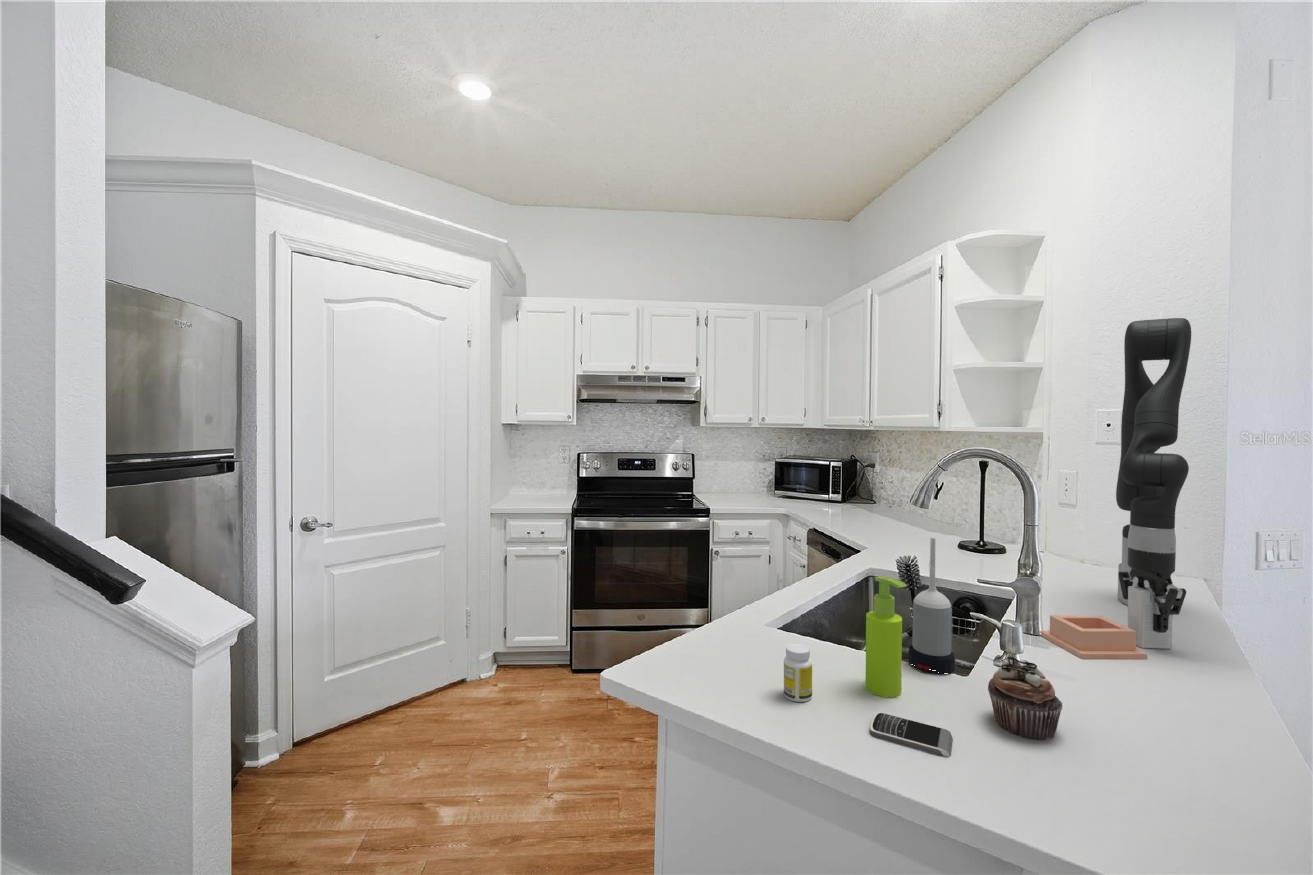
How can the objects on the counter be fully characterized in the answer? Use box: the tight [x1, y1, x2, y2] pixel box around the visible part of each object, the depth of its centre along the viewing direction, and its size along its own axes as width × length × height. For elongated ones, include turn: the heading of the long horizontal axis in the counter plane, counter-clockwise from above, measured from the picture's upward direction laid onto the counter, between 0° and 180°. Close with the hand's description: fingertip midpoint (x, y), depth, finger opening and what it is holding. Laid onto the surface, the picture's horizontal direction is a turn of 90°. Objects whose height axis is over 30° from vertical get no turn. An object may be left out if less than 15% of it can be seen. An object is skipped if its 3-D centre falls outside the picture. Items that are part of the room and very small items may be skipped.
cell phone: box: [869, 712, 954, 757], centre depth 83 cm, size 6×11×1 cm, turn 58°
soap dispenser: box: [864, 575, 908, 698], centre depth 96 cm, size 6×7×20 cm
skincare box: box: [1127, 586, 1174, 650], centre depth 116 cm, size 6×4×12 cm
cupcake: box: [987, 656, 1063, 741], centre depth 86 cm, size 10×10×10 cm
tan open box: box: [1039, 615, 1148, 660], centre depth 115 cm, size 12×13×5 cm
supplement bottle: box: [783, 643, 813, 703], centre depth 95 cm, size 5×5×8 cm
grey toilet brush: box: [907, 537, 956, 676], centre depth 106 cm, size 8×8×25 cm
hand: (1149, 626), depth 116 cm, fingers closed on skincare box, 4 cm apart
